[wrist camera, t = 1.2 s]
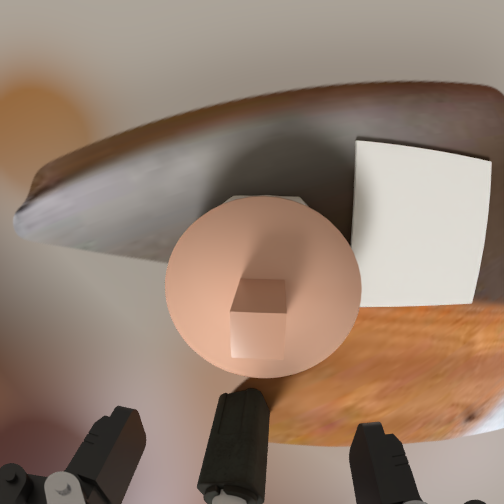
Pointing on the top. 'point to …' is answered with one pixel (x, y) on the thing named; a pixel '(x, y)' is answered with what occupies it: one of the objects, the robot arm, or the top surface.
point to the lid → (263, 287)
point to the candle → (237, 450)
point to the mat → (418, 224)
